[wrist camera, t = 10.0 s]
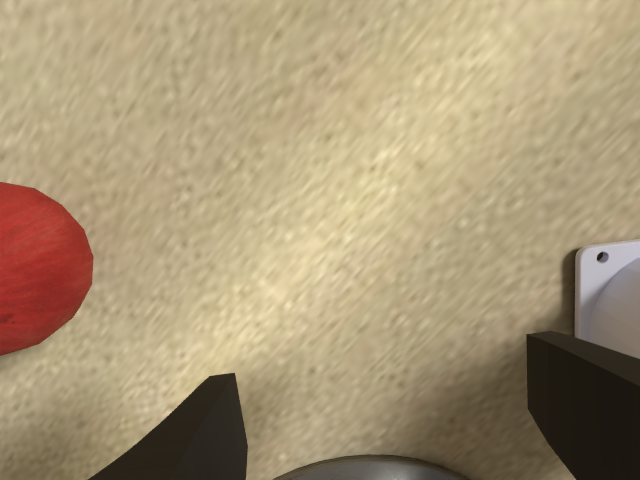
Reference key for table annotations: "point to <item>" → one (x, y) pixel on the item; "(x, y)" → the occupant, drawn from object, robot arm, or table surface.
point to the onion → (38, 267)
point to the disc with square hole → (372, 469)
